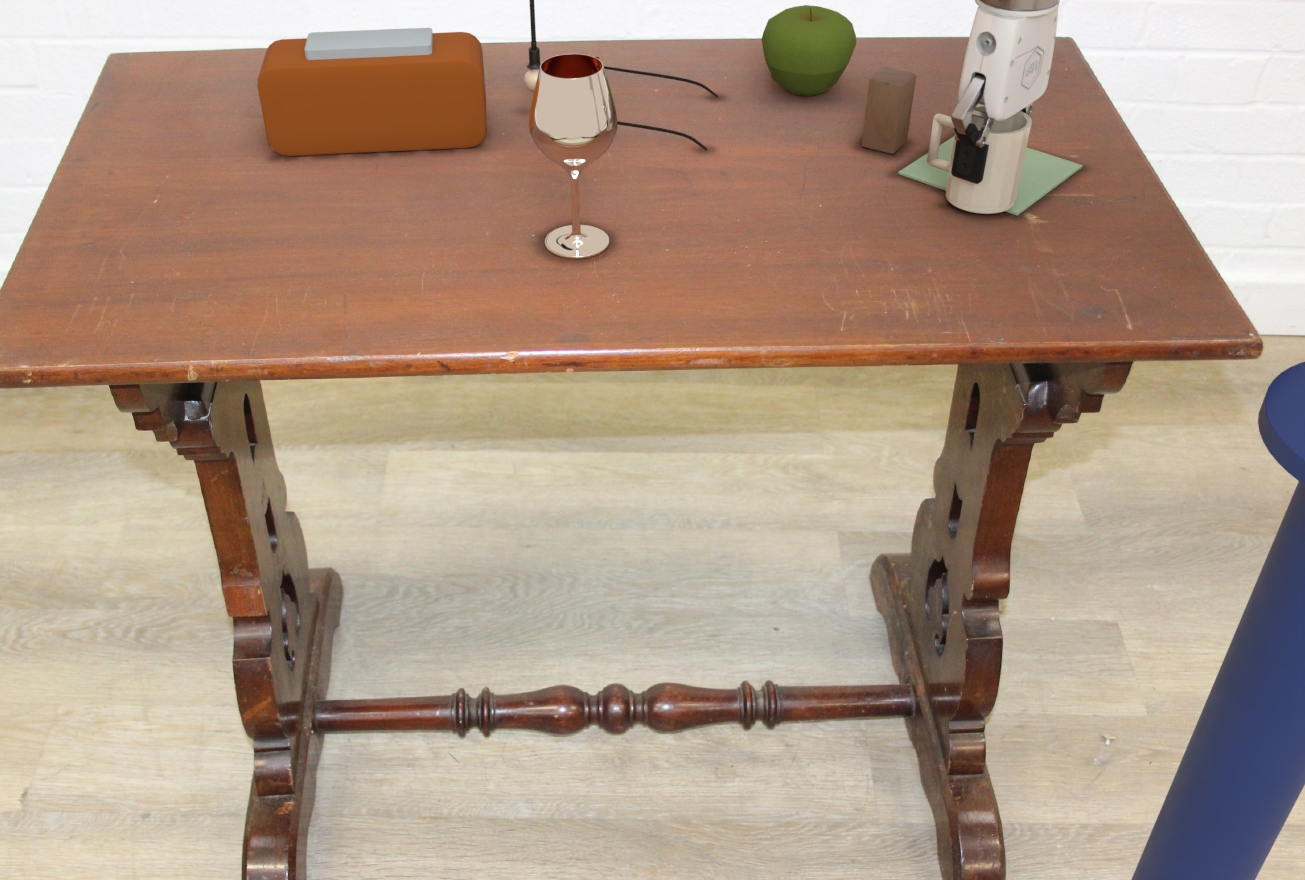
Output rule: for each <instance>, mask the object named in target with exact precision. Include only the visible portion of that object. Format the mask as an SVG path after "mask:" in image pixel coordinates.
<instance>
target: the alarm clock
mask: <svg viewBox="0 0 1305 880" xmlns="http://www.w3.org/2000/svg"><path fill="white" fill-rule="evenodd" d="M483 55H484V53H483V46H482V44H481V41H480V40H479V39H478V37H476V36H475V35H474V34H472V33H471V32H467V31H450V32H447V31H446V32H433V28H431V27H412V28H411V27H409V28H388V29H387V28H385V29H366V30H365V29H363V30H339V31H338V30H337V31H317V32H310V33H308V34H307V38H305V37H304V38H303V37H302V38H281V39H278V40H274V41H273V42H272V43H270V44H269V45H268V46H267V49H266V51H265V54H264V56H263V60H262V64H261V67H260V70H259V74H258V77H257V91H258V96H259V101H260V102H259V103H260V108H261V113H262V118H263V124H264V129H265V134H266V139H267V142H268V144H269V146H270V147H271V149H272V150H273V151H275V153H277V154H280V155H282V156H288V157H293V156H294V157H295V156H297V157H298V156H314V155H315V156H316V155H338V154H341V155H342V154H358V153H359V154H361V153H362V154H363V153H381V152H401V151H404V152H405V151H424V150H426V151H427V150H445V149H446V150H447V149H469V148H473V147H476V146H478V145H479V144H481V143H482V142H483V140H484V139H485V138H486V136H487V95H486V82H485V81H486V80H485V68H484V56H483Z"/></svg>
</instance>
